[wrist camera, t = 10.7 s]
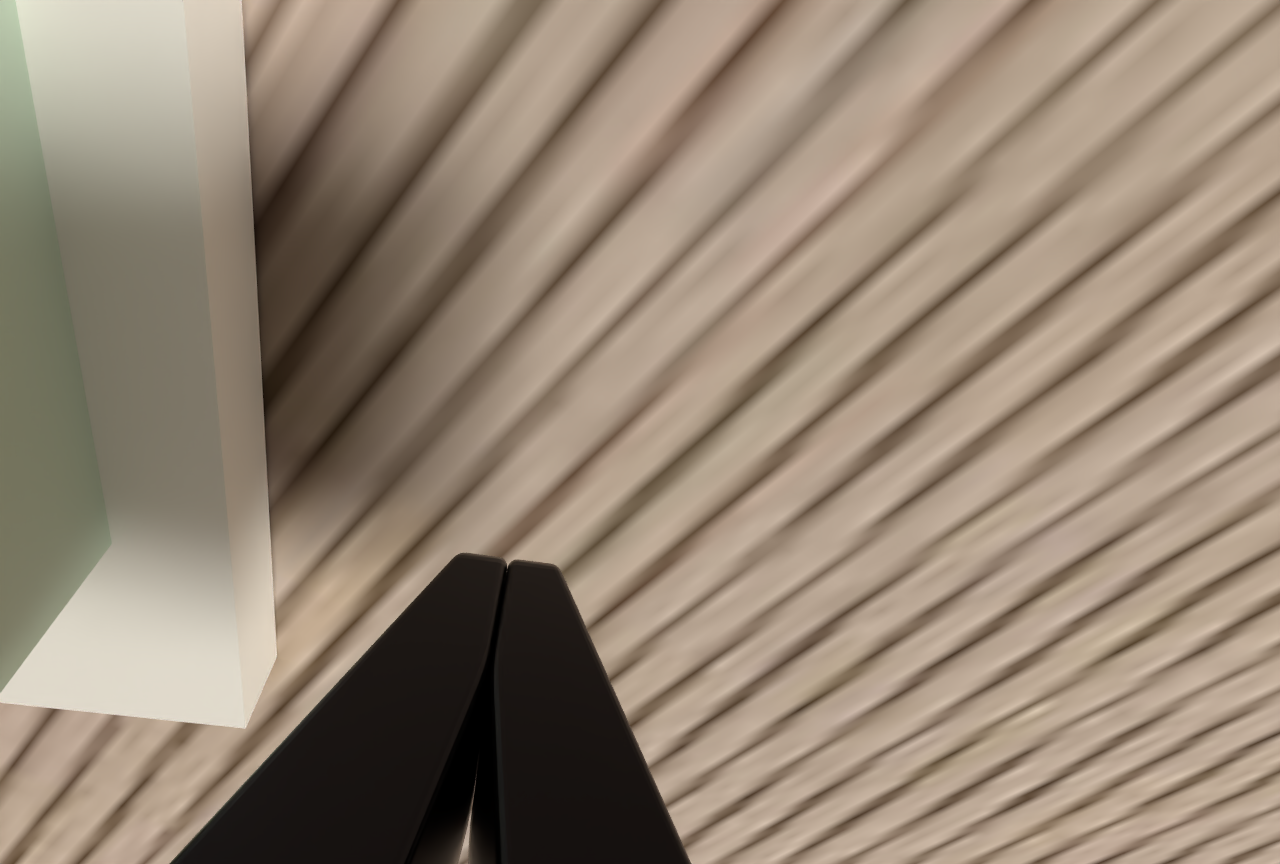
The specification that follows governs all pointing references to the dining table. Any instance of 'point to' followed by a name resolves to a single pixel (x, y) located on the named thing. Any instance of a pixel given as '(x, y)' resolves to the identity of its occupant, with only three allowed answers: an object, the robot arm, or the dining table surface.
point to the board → (158, 357)
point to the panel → (37, 390)
